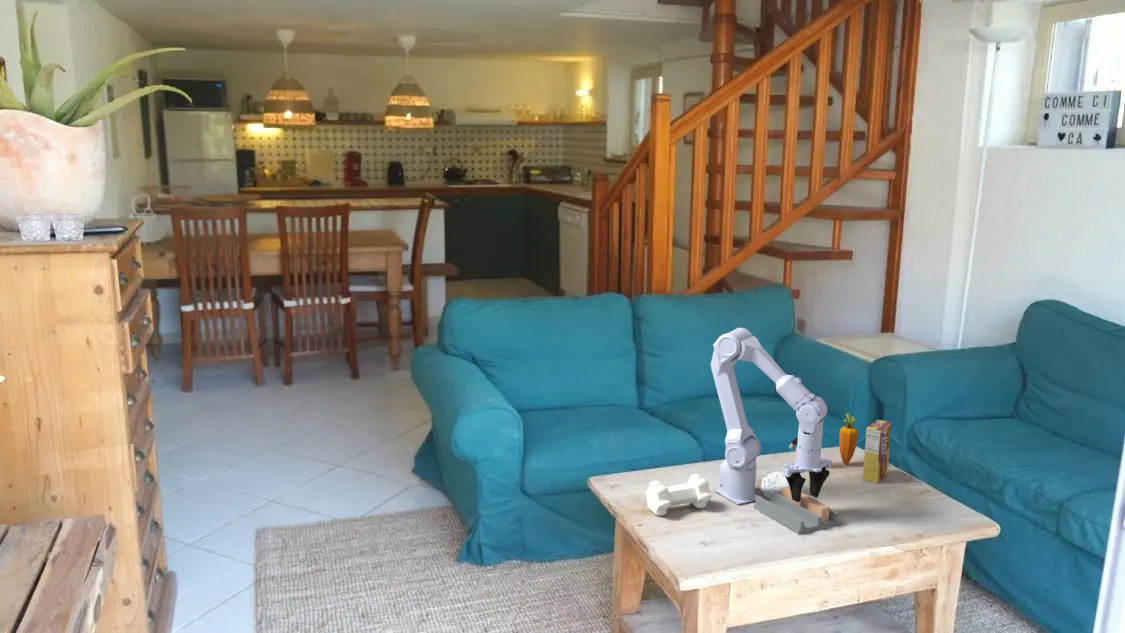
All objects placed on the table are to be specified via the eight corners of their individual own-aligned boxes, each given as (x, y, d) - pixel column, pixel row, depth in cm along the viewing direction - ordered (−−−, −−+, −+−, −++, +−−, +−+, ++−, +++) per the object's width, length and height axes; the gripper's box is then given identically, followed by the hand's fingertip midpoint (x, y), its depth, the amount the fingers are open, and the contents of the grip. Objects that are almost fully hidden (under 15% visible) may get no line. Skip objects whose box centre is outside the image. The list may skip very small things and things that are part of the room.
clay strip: (780, 500, 218) (781, 487, 218) (788, 498, 220) (789, 485, 219) (820, 522, 206) (822, 508, 206) (828, 520, 208) (829, 506, 207)
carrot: (855, 468, 243) (860, 418, 239) (837, 467, 244) (842, 417, 240) (853, 462, 247) (858, 413, 244) (835, 460, 248) (840, 411, 245)
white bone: (659, 522, 209) (662, 493, 206) (642, 505, 216) (644, 476, 214) (711, 512, 214) (714, 483, 212) (692, 496, 222) (696, 468, 220)
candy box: (872, 470, 242) (877, 419, 239) (887, 474, 239) (893, 422, 236) (861, 479, 235) (866, 427, 232) (876, 483, 232) (882, 430, 229)
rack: (753, 508, 216) (754, 497, 215) (792, 498, 222) (793, 488, 221) (798, 534, 202) (799, 522, 201) (838, 523, 208) (839, 512, 207)
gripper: (798, 456, 203) (794, 510, 206) (843, 447, 209) (838, 499, 212) (778, 447, 209) (774, 499, 212) (821, 438, 215) (817, 488, 218)
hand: (804, 498), depth 212 cm, fingers open, 5 cm apart
